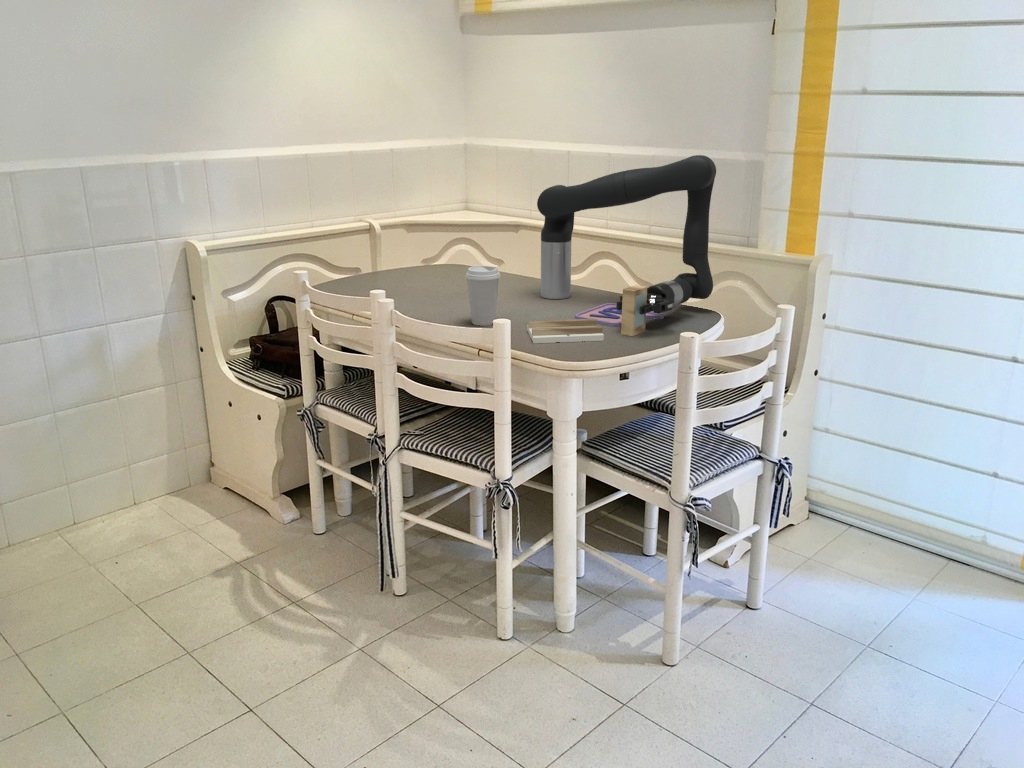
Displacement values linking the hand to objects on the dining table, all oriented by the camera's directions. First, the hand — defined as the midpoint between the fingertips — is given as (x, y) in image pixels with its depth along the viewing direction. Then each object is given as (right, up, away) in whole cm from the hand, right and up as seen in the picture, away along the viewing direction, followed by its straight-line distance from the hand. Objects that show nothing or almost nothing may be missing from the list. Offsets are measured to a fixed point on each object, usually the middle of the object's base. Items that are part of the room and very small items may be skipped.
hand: (629, 308), depth 212 cm
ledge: (-17, -7, +2) cm, 18 cm away
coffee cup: (-38, -3, +14) cm, 41 cm away
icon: (0, -1, +19) cm, 19 cm away
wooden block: (+2, -6, +4) cm, 7 cm away
